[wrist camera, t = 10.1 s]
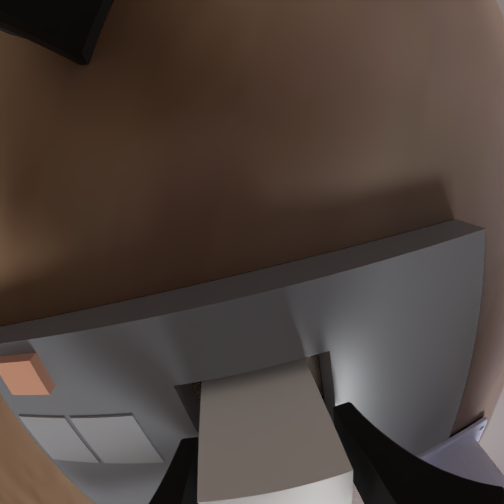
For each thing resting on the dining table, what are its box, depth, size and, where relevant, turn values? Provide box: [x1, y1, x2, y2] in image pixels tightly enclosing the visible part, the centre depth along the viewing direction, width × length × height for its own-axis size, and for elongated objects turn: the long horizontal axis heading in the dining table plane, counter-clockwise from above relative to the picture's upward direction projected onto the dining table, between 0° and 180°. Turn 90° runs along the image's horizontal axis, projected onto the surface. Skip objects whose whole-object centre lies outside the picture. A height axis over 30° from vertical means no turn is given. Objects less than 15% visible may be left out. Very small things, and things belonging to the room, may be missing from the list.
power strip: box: [0, 219, 485, 504], centre depth 12 cm, size 13×22×3 cm, turn 102°
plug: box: [197, 358, 353, 504], centre depth 9 cm, size 4×4×6 cm
